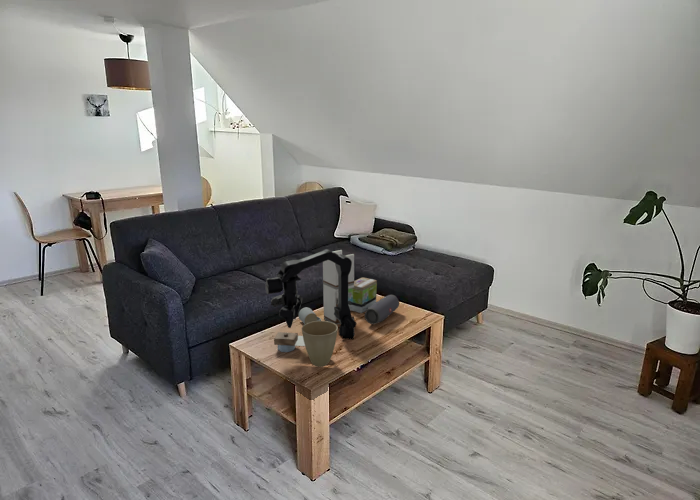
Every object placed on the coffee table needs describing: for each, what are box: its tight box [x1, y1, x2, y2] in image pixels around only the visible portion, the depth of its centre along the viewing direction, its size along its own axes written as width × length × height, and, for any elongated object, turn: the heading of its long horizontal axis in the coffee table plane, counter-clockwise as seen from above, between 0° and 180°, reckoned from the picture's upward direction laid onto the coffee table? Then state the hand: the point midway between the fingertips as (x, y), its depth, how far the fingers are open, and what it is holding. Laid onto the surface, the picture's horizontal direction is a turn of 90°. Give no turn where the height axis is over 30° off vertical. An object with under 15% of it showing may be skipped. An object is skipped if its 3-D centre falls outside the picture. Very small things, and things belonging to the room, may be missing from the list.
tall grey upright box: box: [322, 249, 355, 325], centre depth 236 cm, size 11×11×35 cm
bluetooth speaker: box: [364, 294, 400, 325], centre depth 241 cm, size 23×9×10 cm, turn 148°
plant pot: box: [301, 320, 339, 368], centre depth 196 cm, size 15×15×16 cm
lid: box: [273, 331, 299, 347], centre depth 207 cm, size 9×6×4 cm
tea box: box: [348, 276, 378, 314], centre depth 255 cm, size 15×10×15 cm
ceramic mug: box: [297, 306, 322, 325], centre depth 236 cm, size 11×8×8 cm
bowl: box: [277, 345, 296, 353], centre depth 208 cm, size 7×7×4 cm
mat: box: [295, 335, 305, 347], centre depth 216 cm, size 10×10×1 cm
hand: (292, 323), depth 209 cm, fingers open, 9 cm apart
